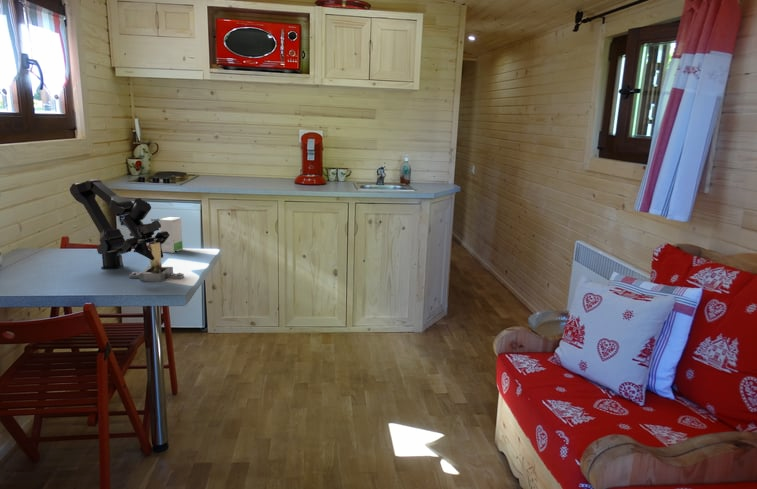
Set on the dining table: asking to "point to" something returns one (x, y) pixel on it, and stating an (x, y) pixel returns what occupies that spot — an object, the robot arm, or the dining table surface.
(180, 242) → the skincare box
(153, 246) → the tan wooden block
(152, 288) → the dining table surface
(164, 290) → the dining table surface
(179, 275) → the chain joint
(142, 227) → the robot arm
